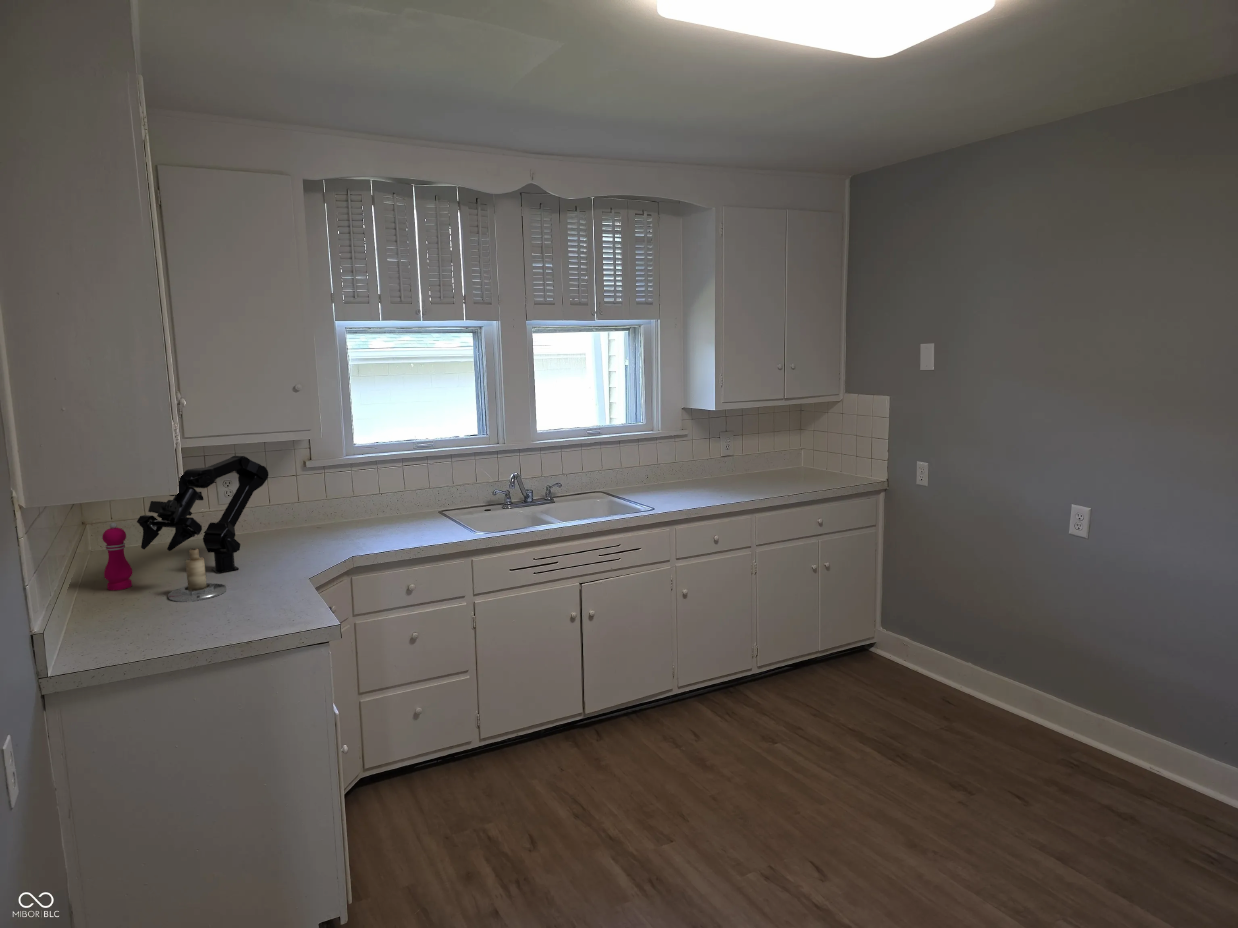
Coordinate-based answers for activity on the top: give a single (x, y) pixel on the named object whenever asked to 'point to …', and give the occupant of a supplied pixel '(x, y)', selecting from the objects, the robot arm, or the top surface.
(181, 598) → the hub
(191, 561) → the knob
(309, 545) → the top surface
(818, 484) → the top surface
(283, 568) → the top surface
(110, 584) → the pepper mill
